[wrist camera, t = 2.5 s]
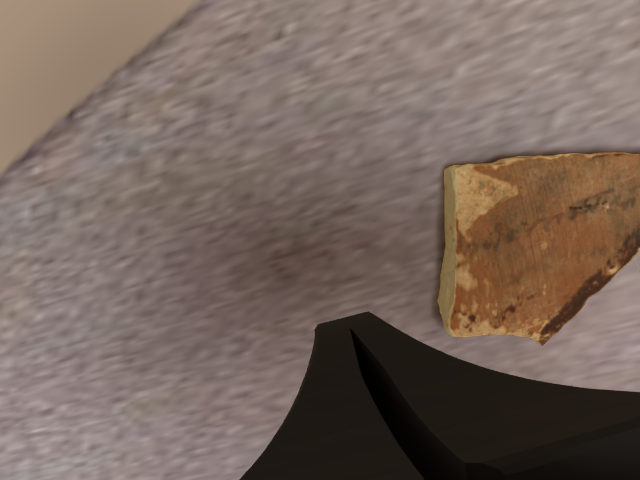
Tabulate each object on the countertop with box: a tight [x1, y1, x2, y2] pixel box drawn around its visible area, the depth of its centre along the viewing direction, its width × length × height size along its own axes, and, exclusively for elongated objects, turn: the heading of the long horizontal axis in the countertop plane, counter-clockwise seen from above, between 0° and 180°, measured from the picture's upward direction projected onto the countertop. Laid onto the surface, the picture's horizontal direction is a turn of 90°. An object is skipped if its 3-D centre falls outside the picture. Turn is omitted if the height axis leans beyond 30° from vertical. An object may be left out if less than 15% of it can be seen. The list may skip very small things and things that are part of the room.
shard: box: [437, 152, 640, 346], centre depth 19 cm, size 11×8×2 cm
